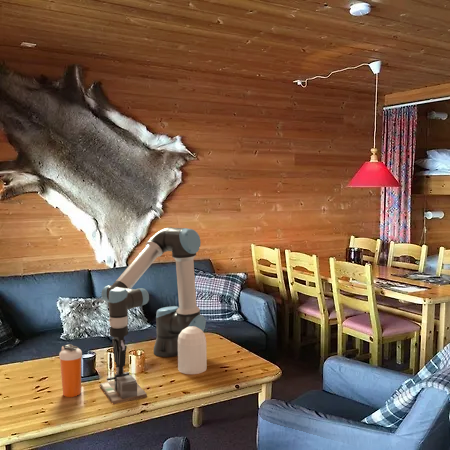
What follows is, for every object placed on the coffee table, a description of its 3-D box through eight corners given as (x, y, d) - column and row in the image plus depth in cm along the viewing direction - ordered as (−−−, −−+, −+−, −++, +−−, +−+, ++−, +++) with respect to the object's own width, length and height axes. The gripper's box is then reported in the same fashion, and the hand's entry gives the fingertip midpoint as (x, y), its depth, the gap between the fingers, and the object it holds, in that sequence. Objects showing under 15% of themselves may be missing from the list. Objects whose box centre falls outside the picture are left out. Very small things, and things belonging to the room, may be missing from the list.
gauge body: (99, 386, 216) (99, 369, 215) (131, 379, 223) (131, 364, 222) (112, 404, 198) (112, 386, 198) (146, 396, 205) (146, 379, 204)
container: (172, 368, 236) (171, 326, 234) (194, 361, 245) (194, 321, 243) (189, 376, 226) (188, 332, 224) (212, 369, 235) (212, 327, 233)
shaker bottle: (70, 400, 202) (69, 351, 201) (55, 395, 207) (54, 347, 205) (87, 392, 210) (86, 345, 208) (73, 387, 215) (71, 341, 213)
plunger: (106, 389, 208) (106, 375, 208) (128, 385, 213) (128, 371, 212) (113, 398, 200) (112, 383, 200) (135, 393, 205) (135, 379, 204)
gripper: (105, 323, 215) (107, 377, 217) (114, 331, 204) (115, 387, 206) (122, 320, 219) (124, 373, 221) (132, 328, 207) (133, 384, 209)
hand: (120, 380), depth 213 cm, fingers closed
